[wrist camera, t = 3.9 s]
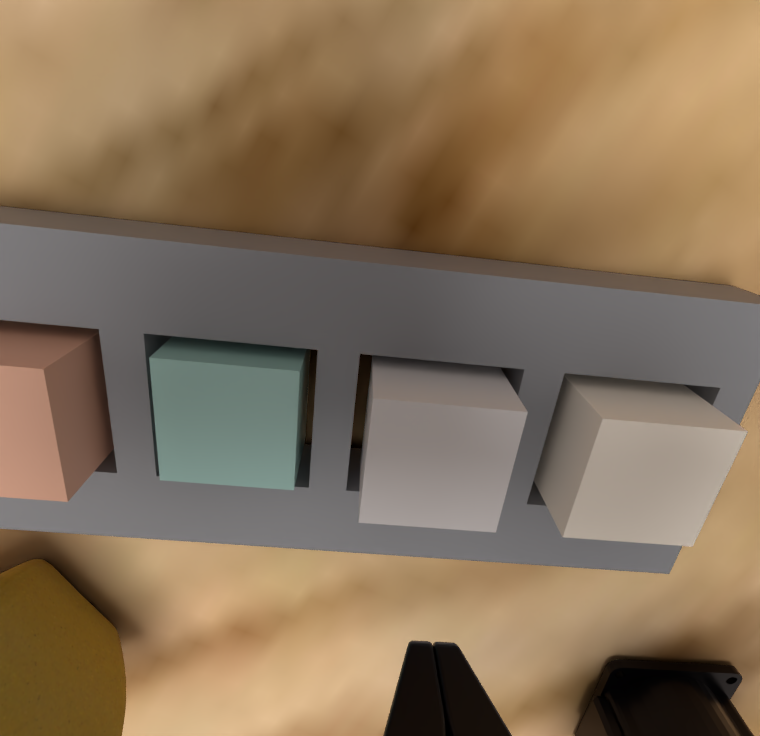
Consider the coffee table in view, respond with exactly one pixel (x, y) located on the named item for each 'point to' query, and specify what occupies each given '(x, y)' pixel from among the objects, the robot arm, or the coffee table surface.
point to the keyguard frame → (352, 369)
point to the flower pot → (56, 658)
